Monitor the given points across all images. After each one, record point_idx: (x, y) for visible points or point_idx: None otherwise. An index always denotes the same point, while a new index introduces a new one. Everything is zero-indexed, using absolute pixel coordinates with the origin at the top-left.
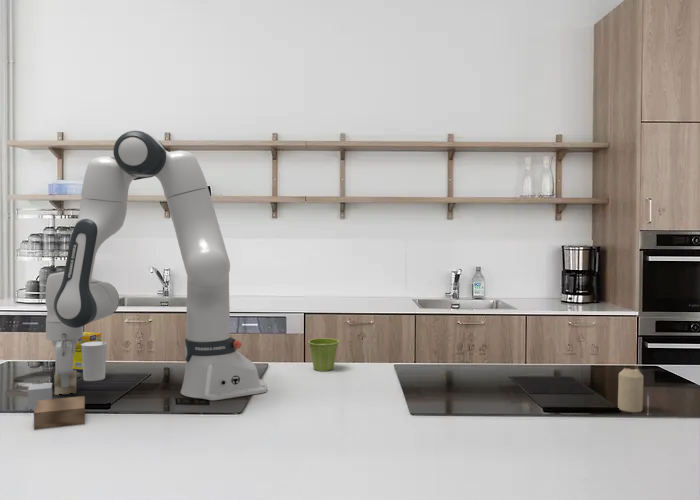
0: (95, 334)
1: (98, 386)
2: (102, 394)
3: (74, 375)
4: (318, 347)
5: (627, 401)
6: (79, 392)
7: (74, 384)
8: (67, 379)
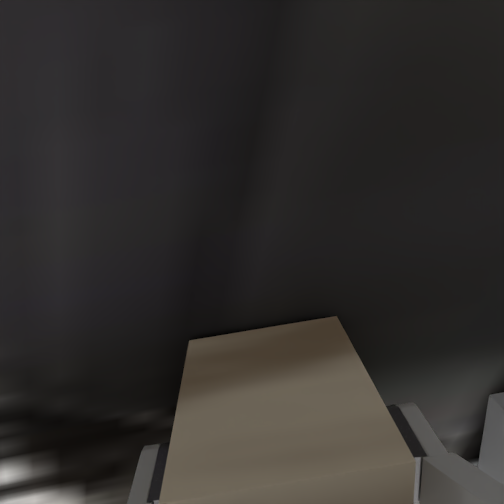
0: None
1: (108, 182)
2: (418, 95)
3: (408, 454)
4: None
5: None
6: (289, 298)
7: (364, 373)
8: (464, 468)
